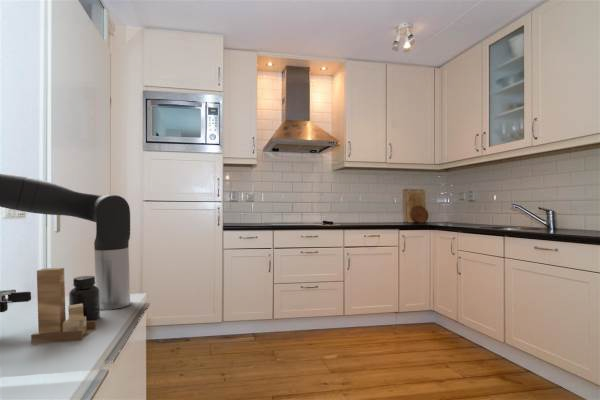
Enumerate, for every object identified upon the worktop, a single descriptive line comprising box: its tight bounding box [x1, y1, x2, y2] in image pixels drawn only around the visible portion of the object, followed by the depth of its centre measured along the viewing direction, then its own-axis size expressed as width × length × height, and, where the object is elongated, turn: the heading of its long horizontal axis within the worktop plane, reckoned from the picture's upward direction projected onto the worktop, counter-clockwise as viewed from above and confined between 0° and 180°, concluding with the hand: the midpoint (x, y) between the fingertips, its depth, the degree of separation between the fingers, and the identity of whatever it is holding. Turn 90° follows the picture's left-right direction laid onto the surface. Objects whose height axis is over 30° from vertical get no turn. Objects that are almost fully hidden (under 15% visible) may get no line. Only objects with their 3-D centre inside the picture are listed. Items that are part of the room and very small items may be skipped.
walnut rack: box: [30, 320, 97, 345], centre depth 86 cm, size 8×10×3 cm
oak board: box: [36, 267, 67, 333], centre depth 86 cm, size 2×4×15 cm, turn 97°
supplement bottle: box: [68, 275, 101, 321], centre depth 98 cm, size 7×7×12 cm
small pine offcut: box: [67, 303, 84, 322], centre depth 87 cm, size 3×3×3 cm
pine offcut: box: [63, 317, 87, 334], centre depth 86 cm, size 4×3×4 cm
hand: (19, 301), depth 85 cm, fingers open, 8 cm apart
